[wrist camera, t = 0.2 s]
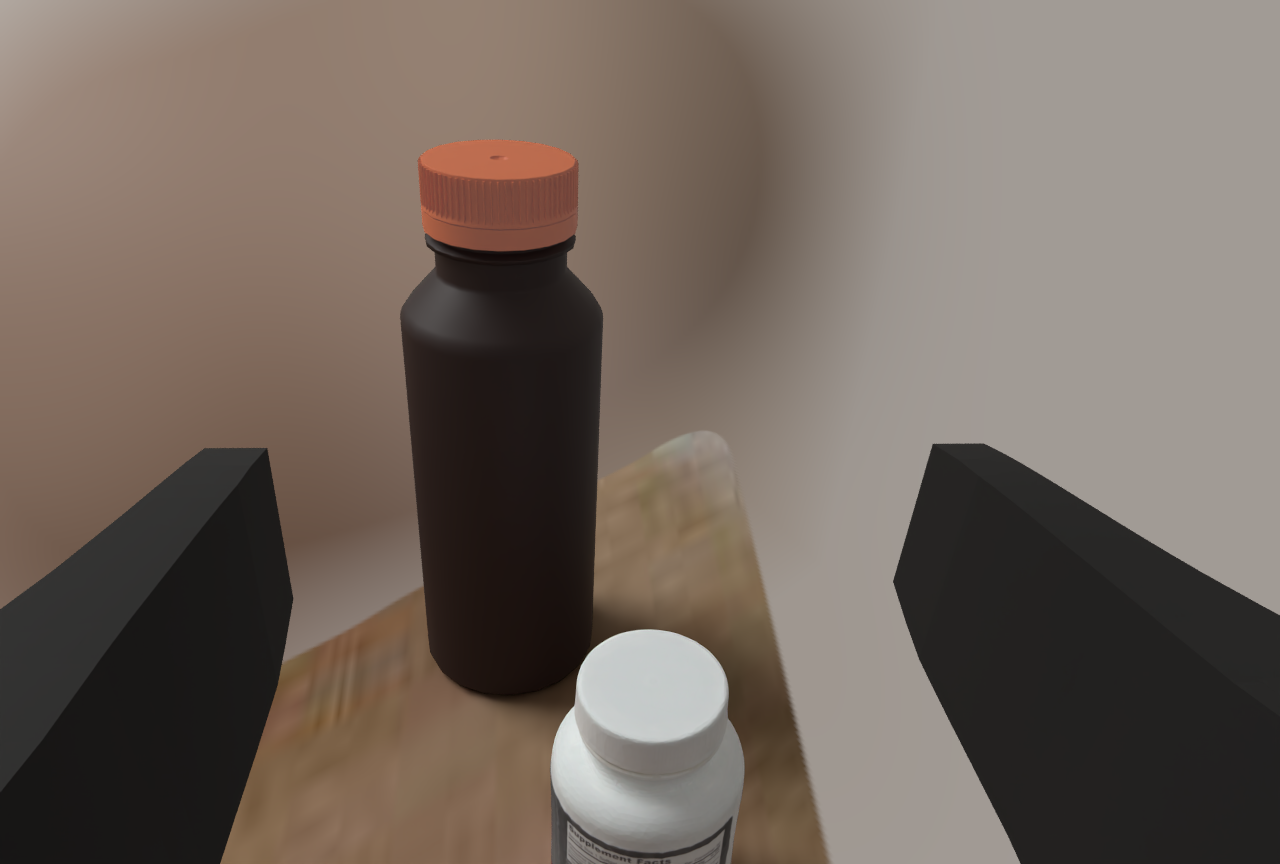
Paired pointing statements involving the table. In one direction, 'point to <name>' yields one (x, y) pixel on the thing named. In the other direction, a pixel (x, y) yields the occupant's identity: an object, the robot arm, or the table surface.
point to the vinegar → (504, 415)
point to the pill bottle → (647, 757)
